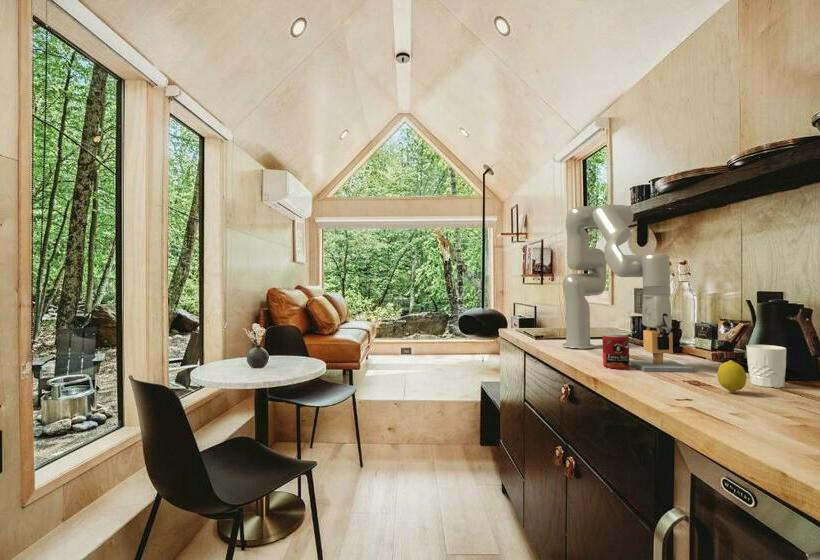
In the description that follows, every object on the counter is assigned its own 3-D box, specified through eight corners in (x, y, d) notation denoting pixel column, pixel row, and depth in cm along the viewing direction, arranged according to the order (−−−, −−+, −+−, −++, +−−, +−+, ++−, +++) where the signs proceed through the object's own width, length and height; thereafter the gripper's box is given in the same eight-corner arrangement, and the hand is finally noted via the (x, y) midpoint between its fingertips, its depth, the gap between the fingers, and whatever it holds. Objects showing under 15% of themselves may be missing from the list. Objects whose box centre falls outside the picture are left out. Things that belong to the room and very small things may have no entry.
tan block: (643, 349, 131) (643, 330, 131) (663, 350, 130) (662, 330, 130) (652, 352, 125) (652, 332, 125) (672, 353, 124) (672, 332, 124)
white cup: (794, 386, 102) (793, 347, 102) (776, 390, 99) (775, 350, 99) (758, 380, 110) (757, 343, 110) (740, 383, 107) (739, 345, 107)
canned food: (605, 369, 126) (604, 334, 126) (601, 364, 134) (600, 331, 134) (632, 370, 124) (631, 335, 124) (626, 365, 131) (625, 332, 132)
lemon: (752, 396, 94) (751, 362, 94) (725, 395, 95) (724, 362, 95) (738, 390, 99) (737, 358, 100) (713, 389, 101) (712, 358, 101)
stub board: (626, 363, 135) (626, 345, 135) (671, 363, 133) (670, 345, 133) (644, 371, 122) (644, 352, 122) (693, 372, 120) (693, 352, 120)
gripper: (632, 291, 137) (634, 344, 136) (657, 292, 120) (659, 352, 119) (655, 291, 136) (657, 344, 135) (684, 292, 119) (685, 352, 118)
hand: (658, 347), depth 127 cm, fingers closed on tan block, 6 cm apart
